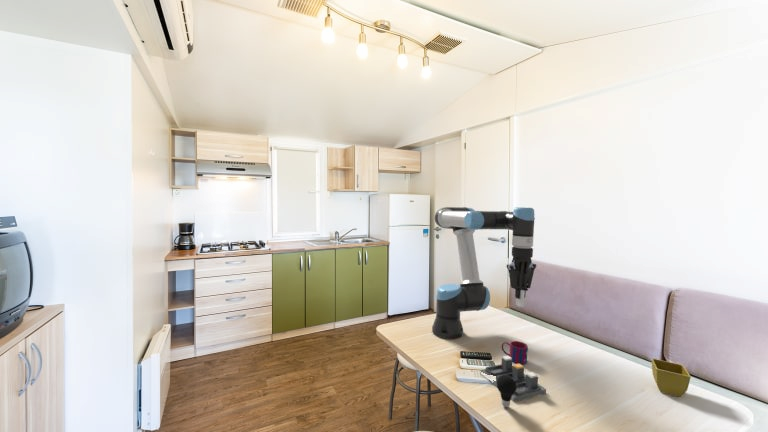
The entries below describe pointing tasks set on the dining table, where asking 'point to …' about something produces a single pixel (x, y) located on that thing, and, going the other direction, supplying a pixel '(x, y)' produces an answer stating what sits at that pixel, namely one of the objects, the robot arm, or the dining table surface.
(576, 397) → the dining table surface
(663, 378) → the flower pot
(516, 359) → the mug
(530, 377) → the breaker
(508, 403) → the light bulb
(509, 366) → the breaker
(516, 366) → the block
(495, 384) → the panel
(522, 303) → the robot arm
